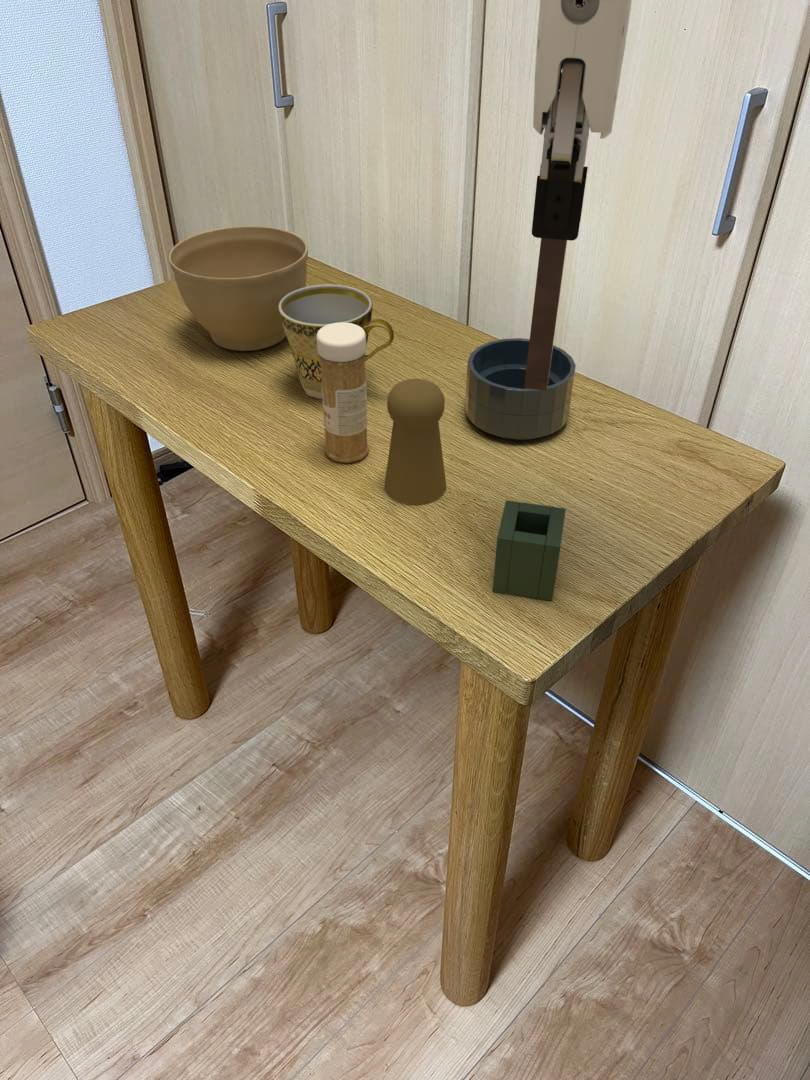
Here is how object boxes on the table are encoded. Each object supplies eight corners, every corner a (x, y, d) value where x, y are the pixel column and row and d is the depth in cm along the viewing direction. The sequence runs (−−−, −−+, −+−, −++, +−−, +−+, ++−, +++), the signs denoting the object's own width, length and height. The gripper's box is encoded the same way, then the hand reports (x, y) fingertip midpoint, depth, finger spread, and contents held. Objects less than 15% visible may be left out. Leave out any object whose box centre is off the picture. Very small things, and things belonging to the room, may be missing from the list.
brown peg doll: (374, 476, 84) (371, 378, 76) (429, 461, 85) (431, 364, 78) (399, 511, 79) (399, 411, 72) (457, 494, 81) (462, 395, 74)
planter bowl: (324, 309, 112) (318, 226, 105) (300, 370, 99) (291, 281, 92) (205, 303, 113) (192, 221, 106) (167, 362, 101) (148, 275, 94)
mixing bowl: (571, 396, 95) (579, 344, 91) (562, 451, 87) (570, 396, 83) (474, 385, 97) (477, 333, 93) (457, 438, 89) (459, 383, 84)
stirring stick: (548, 379, 69) (580, 144, 57) (546, 391, 67) (578, 152, 56) (526, 377, 69) (553, 142, 57) (524, 388, 68) (551, 150, 56)
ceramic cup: (270, 396, 95) (260, 313, 88) (314, 357, 102) (308, 277, 95) (374, 423, 91) (371, 338, 84) (412, 380, 98) (413, 298, 91)
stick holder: (557, 561, 74) (565, 508, 70) (551, 601, 70) (560, 547, 66) (500, 553, 75) (505, 499, 71) (492, 591, 71) (497, 537, 67)
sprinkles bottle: (321, 443, 88) (312, 323, 79) (364, 436, 89) (360, 317, 80) (329, 468, 85) (320, 346, 76) (374, 461, 85) (370, 340, 77)
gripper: (664, -77, 42) (605, 281, 54) (660, -102, 53) (612, 197, 65) (512, -80, 43) (488, 271, 55) (540, -104, 54) (515, 189, 67)
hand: (556, 228), depth 60 cm, fingers closed on stirring stick, 1 cm apart
